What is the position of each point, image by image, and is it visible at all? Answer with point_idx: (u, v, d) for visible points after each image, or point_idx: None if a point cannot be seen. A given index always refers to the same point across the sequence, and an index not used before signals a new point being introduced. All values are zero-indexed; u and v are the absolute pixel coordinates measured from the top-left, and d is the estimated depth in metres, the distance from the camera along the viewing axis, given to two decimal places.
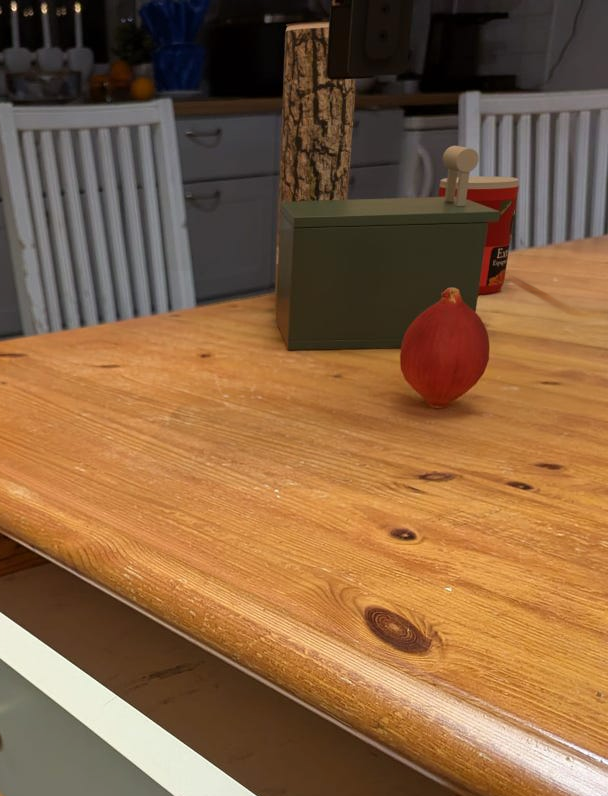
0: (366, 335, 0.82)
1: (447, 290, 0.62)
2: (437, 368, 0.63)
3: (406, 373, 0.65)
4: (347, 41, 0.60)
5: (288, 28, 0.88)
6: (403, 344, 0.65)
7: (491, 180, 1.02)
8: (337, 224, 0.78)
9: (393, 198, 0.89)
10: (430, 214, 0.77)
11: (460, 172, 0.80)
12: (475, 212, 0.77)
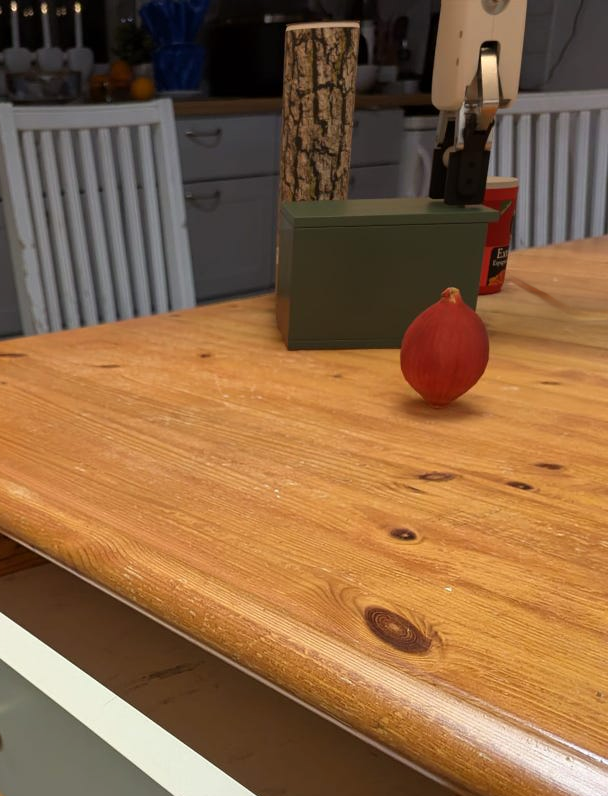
0: (366, 335, 0.82)
1: (447, 290, 0.62)
2: (437, 368, 0.63)
3: (406, 373, 0.65)
4: (445, 173, 0.84)
5: (288, 28, 0.88)
6: (403, 344, 0.65)
7: (491, 180, 1.02)
8: (337, 224, 0.78)
9: (393, 198, 0.89)
10: (430, 214, 0.77)
11: None
12: (475, 212, 0.77)
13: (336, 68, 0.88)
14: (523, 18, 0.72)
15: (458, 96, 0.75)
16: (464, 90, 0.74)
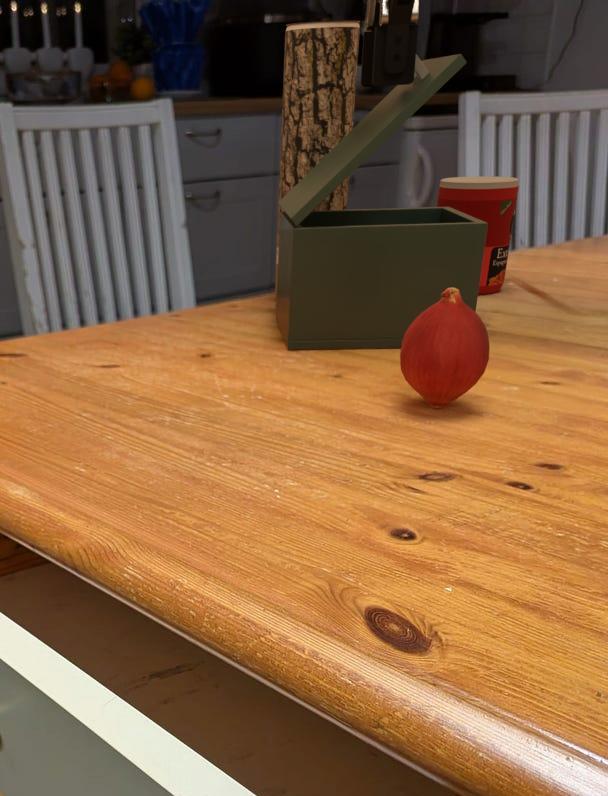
0: (366, 335, 0.82)
1: (447, 290, 0.62)
2: (437, 368, 0.63)
3: (406, 373, 0.65)
4: None
5: (288, 28, 0.88)
6: (403, 344, 0.65)
7: (491, 180, 1.02)
8: (330, 191, 0.77)
9: None
10: (401, 112, 0.74)
11: None
12: (439, 74, 0.72)
13: (336, 68, 0.88)
14: None
15: None
16: None
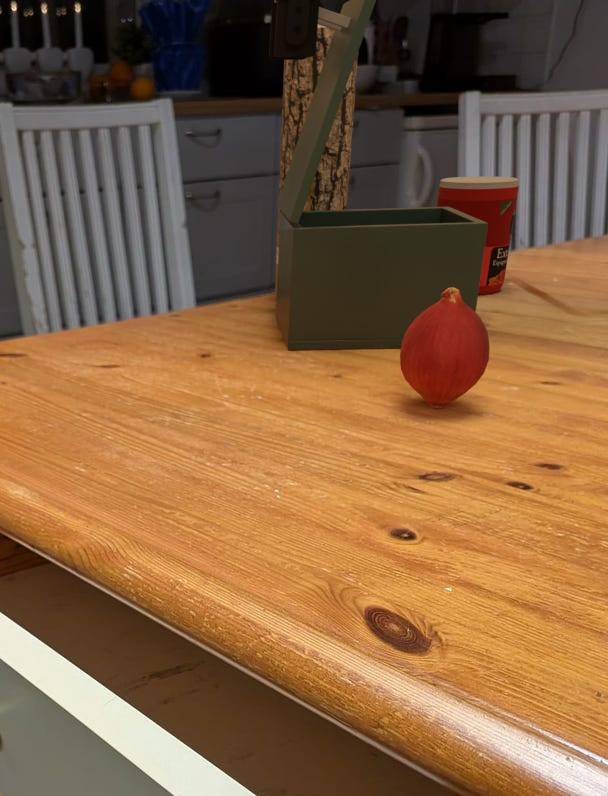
0: (366, 335, 0.82)
1: (447, 290, 0.62)
2: (437, 368, 0.63)
3: (406, 373, 0.65)
4: None
5: None
6: (403, 344, 0.65)
7: (491, 180, 1.02)
8: (312, 177, 0.76)
9: (317, 82, 0.85)
10: (341, 71, 0.73)
11: None
12: (359, 17, 0.71)
13: None
14: None
15: None
16: None
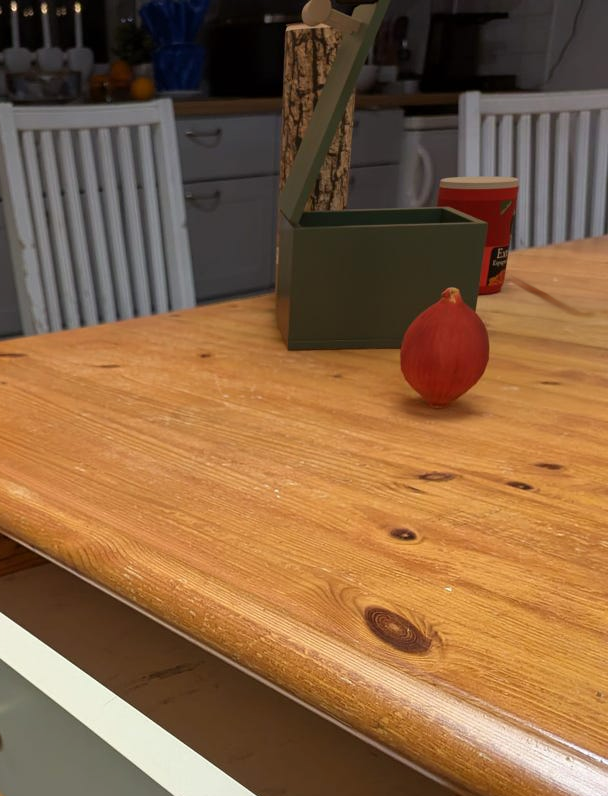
0: (366, 335, 0.82)
1: (447, 290, 0.62)
2: (437, 368, 0.63)
3: (406, 373, 0.65)
4: None
5: (288, 28, 0.88)
6: (403, 344, 0.65)
7: (491, 180, 1.02)
8: (315, 178, 0.76)
9: (324, 84, 0.85)
10: (349, 74, 0.73)
11: (327, 19, 0.75)
12: (370, 21, 0.71)
13: None
14: None
15: None
16: None
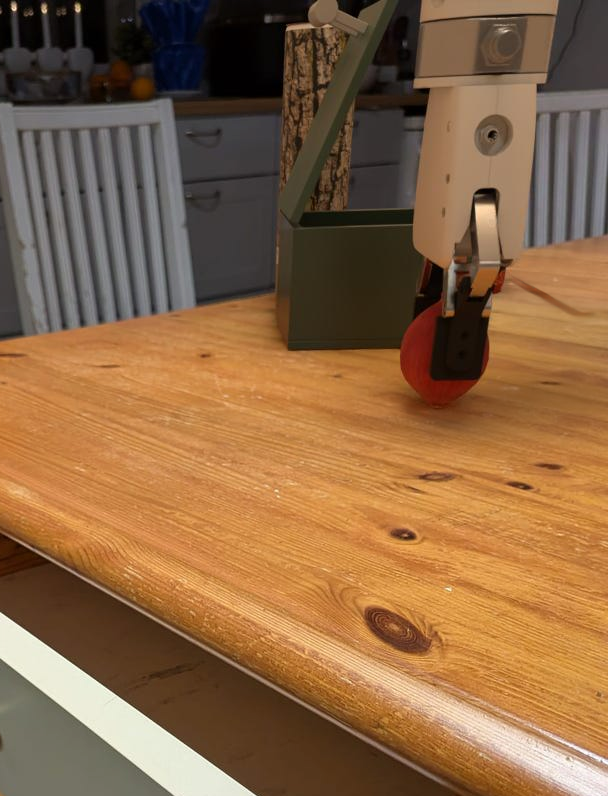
0: (366, 335, 0.82)
1: None
2: None
3: (406, 373, 0.65)
4: None
5: (288, 28, 0.88)
6: (403, 344, 0.65)
7: None
8: (316, 179, 0.76)
9: (328, 85, 0.85)
10: (354, 76, 0.73)
11: (334, 20, 0.75)
12: (376, 24, 0.71)
13: None
14: (530, 160, 0.55)
15: (445, 254, 0.58)
16: (453, 244, 0.57)
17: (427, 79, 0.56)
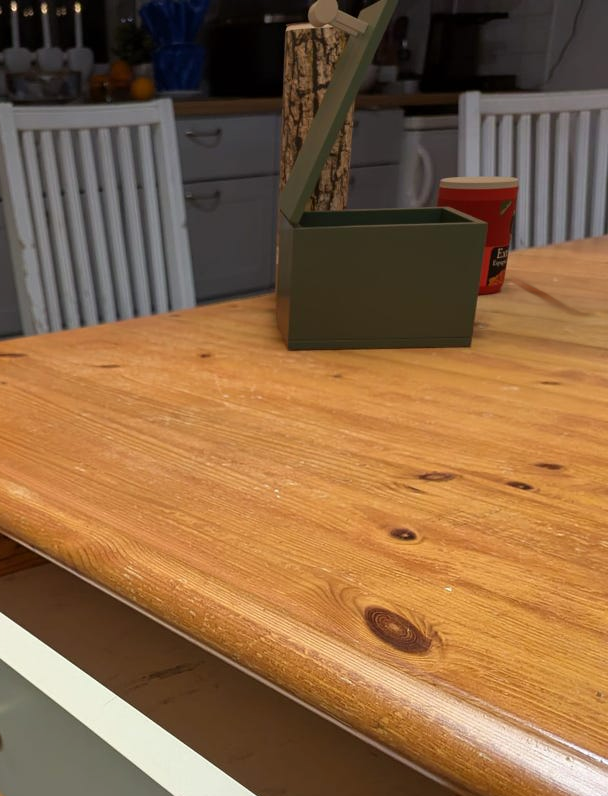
0: (366, 335, 0.82)
1: None
2: None
3: None
4: None
5: (288, 28, 0.88)
6: None
7: (491, 180, 1.02)
8: (316, 179, 0.76)
9: (328, 85, 0.85)
10: (354, 76, 0.73)
11: (334, 20, 0.75)
12: (376, 24, 0.71)
13: None
14: None
15: None
16: None
17: None
